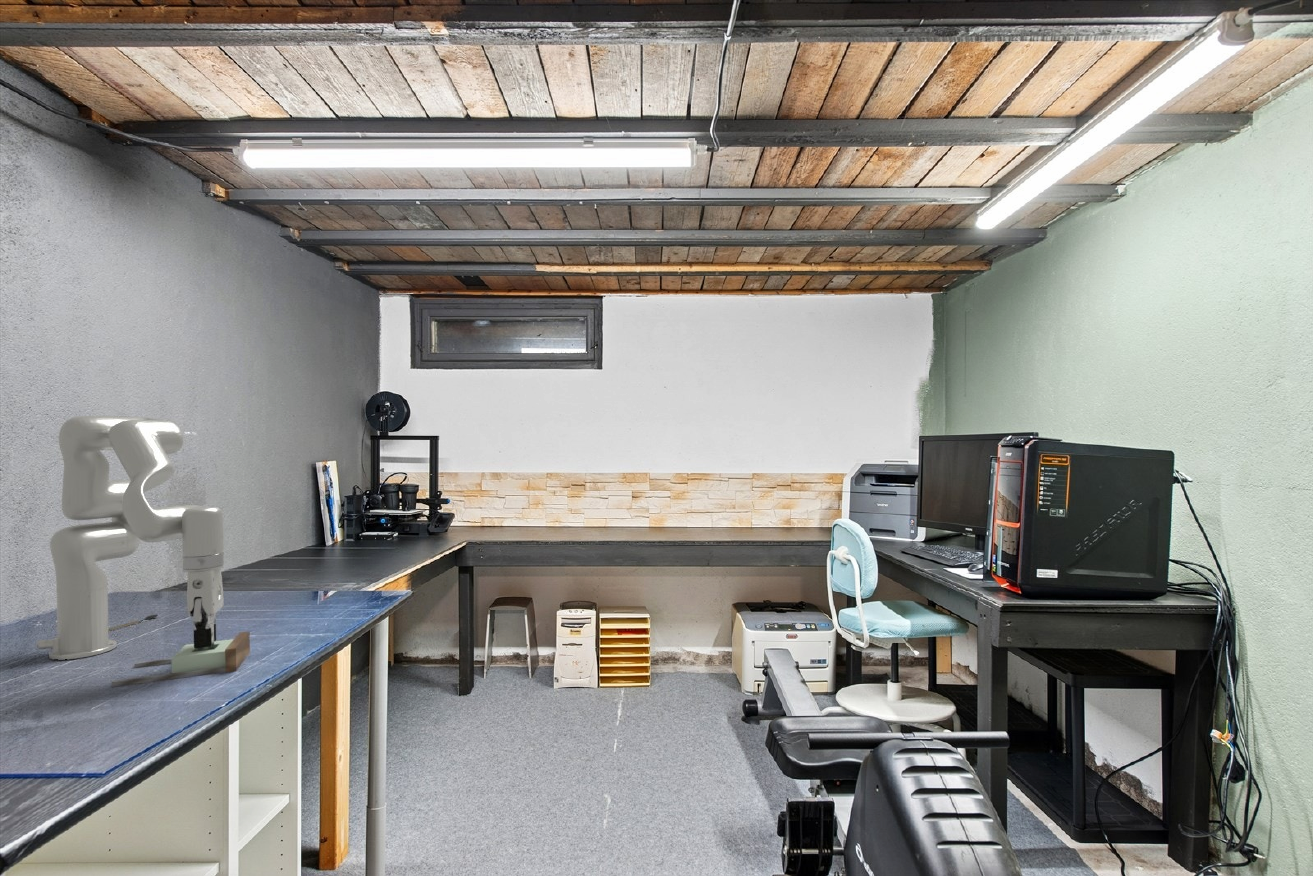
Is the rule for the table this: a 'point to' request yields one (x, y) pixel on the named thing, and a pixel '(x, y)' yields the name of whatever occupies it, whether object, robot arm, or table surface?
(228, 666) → the rail board
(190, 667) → the sliding block
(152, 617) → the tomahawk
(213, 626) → the grey round-ended peg
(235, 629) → the table surface
